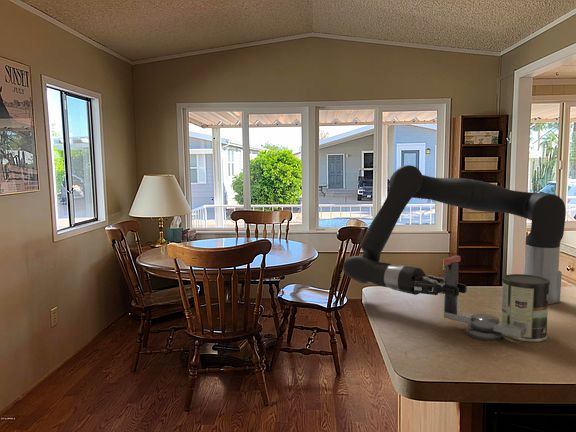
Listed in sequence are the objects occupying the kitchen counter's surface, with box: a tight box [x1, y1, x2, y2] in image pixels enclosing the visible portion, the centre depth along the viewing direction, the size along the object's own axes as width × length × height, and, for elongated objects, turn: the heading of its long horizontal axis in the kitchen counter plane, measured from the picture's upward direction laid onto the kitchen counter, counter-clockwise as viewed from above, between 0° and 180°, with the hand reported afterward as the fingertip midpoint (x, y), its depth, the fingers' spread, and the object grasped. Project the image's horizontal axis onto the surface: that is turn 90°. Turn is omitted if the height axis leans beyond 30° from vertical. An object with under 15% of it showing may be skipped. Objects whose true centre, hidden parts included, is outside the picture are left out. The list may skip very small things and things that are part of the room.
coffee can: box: [500, 273, 550, 343], centre depth 109 cm, size 10×10×14 cm
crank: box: [443, 254, 526, 338], centre depth 109 cm, size 20×6×16 cm, turn 41°
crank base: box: [466, 324, 503, 342], centre depth 110 cm, size 8×8×2 cm
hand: (461, 290), depth 113 cm, fingers closed on crank, 3 cm apart
